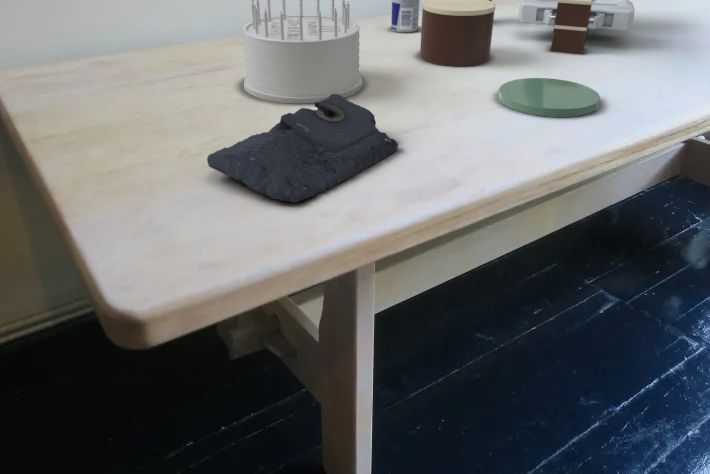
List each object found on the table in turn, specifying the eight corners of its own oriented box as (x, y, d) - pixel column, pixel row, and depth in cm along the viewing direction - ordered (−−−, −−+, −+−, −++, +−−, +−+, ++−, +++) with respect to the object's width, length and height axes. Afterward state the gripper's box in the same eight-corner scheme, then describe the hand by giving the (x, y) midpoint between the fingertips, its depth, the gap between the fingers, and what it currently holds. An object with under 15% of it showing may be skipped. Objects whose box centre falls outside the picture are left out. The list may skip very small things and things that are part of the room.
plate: (601, 91, 99) (602, 83, 99) (595, 122, 88) (597, 114, 87) (507, 81, 104) (508, 73, 103) (490, 109, 92) (491, 101, 92)
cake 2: (495, 51, 119) (501, -1, 114) (482, 69, 109) (488, 13, 104) (429, 45, 123) (432, -6, 118) (410, 62, 113) (413, 7, 108)
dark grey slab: (186, 174, 73) (181, 134, 71) (311, 118, 89) (310, 83, 86) (292, 213, 66) (290, 169, 63) (409, 144, 81) (410, 107, 79)
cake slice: (583, 48, 121) (593, -3, 116) (582, 54, 118) (591, 1, 113) (552, 45, 123) (560, -6, 118) (550, 51, 119) (558, -1, 115)
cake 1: (366, 102, 95) (368, 5, 88) (239, 104, 94) (231, 6, 87) (357, 66, 110) (358, -18, 103) (248, 68, 109) (241, -17, 102)
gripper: (525, -14, 130) (514, -1, 118) (637, -6, 123) (636, 8, 112) (521, 20, 133) (510, 35, 122) (629, 28, 127) (628, 46, 115)
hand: (571, 22), depth 117 cm, fingers closed on cake slice, 5 cm apart
